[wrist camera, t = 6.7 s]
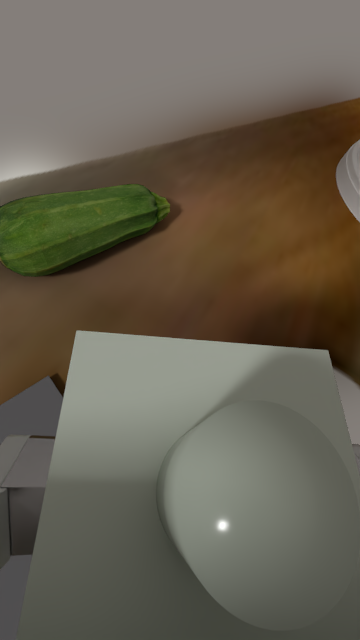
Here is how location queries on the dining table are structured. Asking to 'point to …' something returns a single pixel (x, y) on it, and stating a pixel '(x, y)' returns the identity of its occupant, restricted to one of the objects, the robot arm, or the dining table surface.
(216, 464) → the square capped bottle
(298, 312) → the dining table surface
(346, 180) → the dome cover
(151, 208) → the vegetable
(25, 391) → the mat
